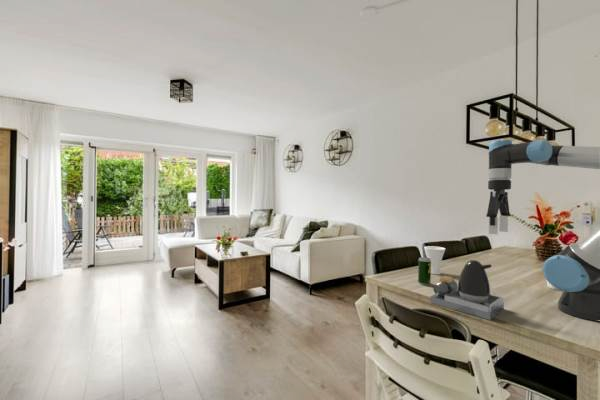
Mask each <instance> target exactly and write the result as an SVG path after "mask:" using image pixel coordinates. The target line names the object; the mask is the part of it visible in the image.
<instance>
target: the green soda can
mask: <svg viewBox="0 0 600 400" xmlns="http://www.w3.org/2000/svg"><path fill="white" fill-rule="evenodd" d="M417 272H418V273H417V274H418V275H417V283H418V284H419V285H421V284H422V285H421V286H430V285H431V283H432V279H431V278H432V274H431V259H430V258H427V256H426V257H424V256H421V257H418V271H417Z"/></svg>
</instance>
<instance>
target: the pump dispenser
mask: <svg viewBox="0 0 600 400" xmlns="http://www.w3.org/2000/svg"><path fill="white" fill-rule="evenodd" d="M490 268H492V264H484V265H483V264H482V263H481V262H480V261H478V260H474V259H473V260H471V259H470V260H468V261H467V262H466V264H464V266H463V268H462V270H461V272H460V275H459V279H458V283H457V285H458V288H457V289H458V290H459V293H460V295H461V297H462V298H463V299H464V300H467V301H471V302H475V303H479V304H481V303H484V302H485V301H487V299H488V297H489V295H490V294H491V287H490V285H491V284H490V281H489V277H488V274H487V271H486V269H490Z"/></svg>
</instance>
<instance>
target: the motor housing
mask: <svg viewBox="0 0 600 400" xmlns="http://www.w3.org/2000/svg"><path fill="white" fill-rule="evenodd" d="M433 292H434V294H432V295H431V296H429V297H430V300H429V303H430V304H433V305H436V306H437V305H438V306H441V307H444V308H447V309H451V310H453V311H458V312H461V313H464V314H466V315H467V314H468V315H471V316H475V317H478V318H481V319H485V320H488V321H491V320H492V319H494V318H495V317H496V316H497V315H498V314H499V312H500V313H502V311H503V310H504V308H505V302H504V297H502V296H499V295H495V294H491V293H490V295H489V297H488V299H487V301H485V302H484V303H481V304H479V303H475V302H471V301H467V300H464V299H463V298H462V297H461V295H460V293H459V290H458V283H457V281H455V280H454V279H453V277H452V276H449V275H443V276H440V277H439V282H438V283H436V284H435V285H434V286H433Z"/></svg>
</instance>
